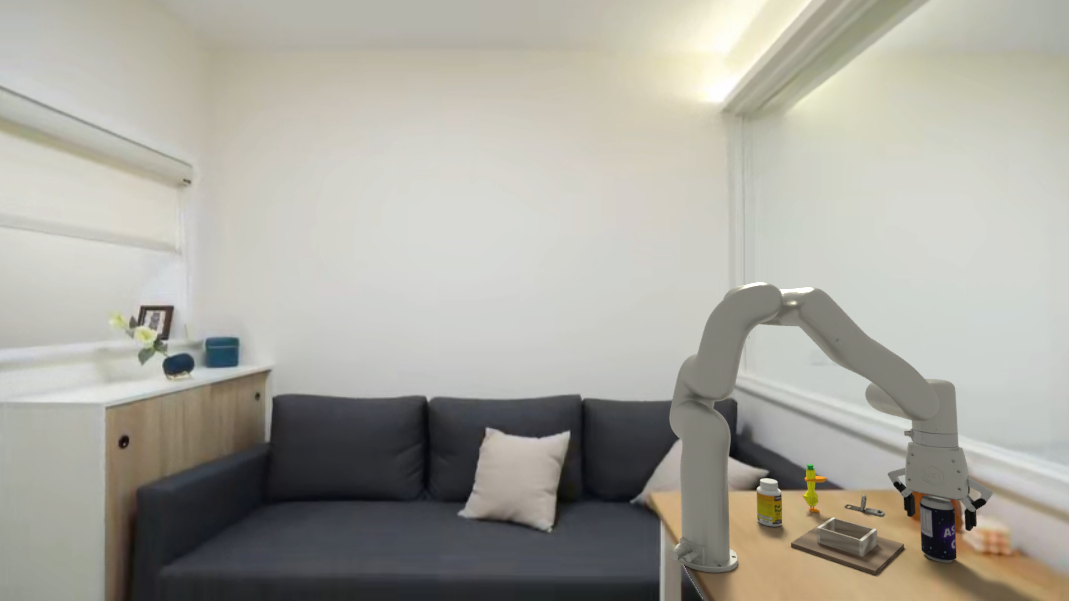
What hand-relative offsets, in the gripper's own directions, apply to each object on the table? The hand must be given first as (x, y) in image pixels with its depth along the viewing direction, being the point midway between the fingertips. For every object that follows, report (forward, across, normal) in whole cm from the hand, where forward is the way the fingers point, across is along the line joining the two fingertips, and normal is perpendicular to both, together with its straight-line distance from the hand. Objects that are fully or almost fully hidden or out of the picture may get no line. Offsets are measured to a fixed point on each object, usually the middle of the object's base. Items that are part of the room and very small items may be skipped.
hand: (939, 521), depth 104 cm
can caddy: (+7, -14, -9) cm, 19 cm away
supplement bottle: (+7, -31, -9) cm, 33 cm away
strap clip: (+8, -19, +17) cm, 27 cm away
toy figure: (+7, -27, +7) cm, 29 cm away
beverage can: (+8, 0, 0) cm, 8 cm away
